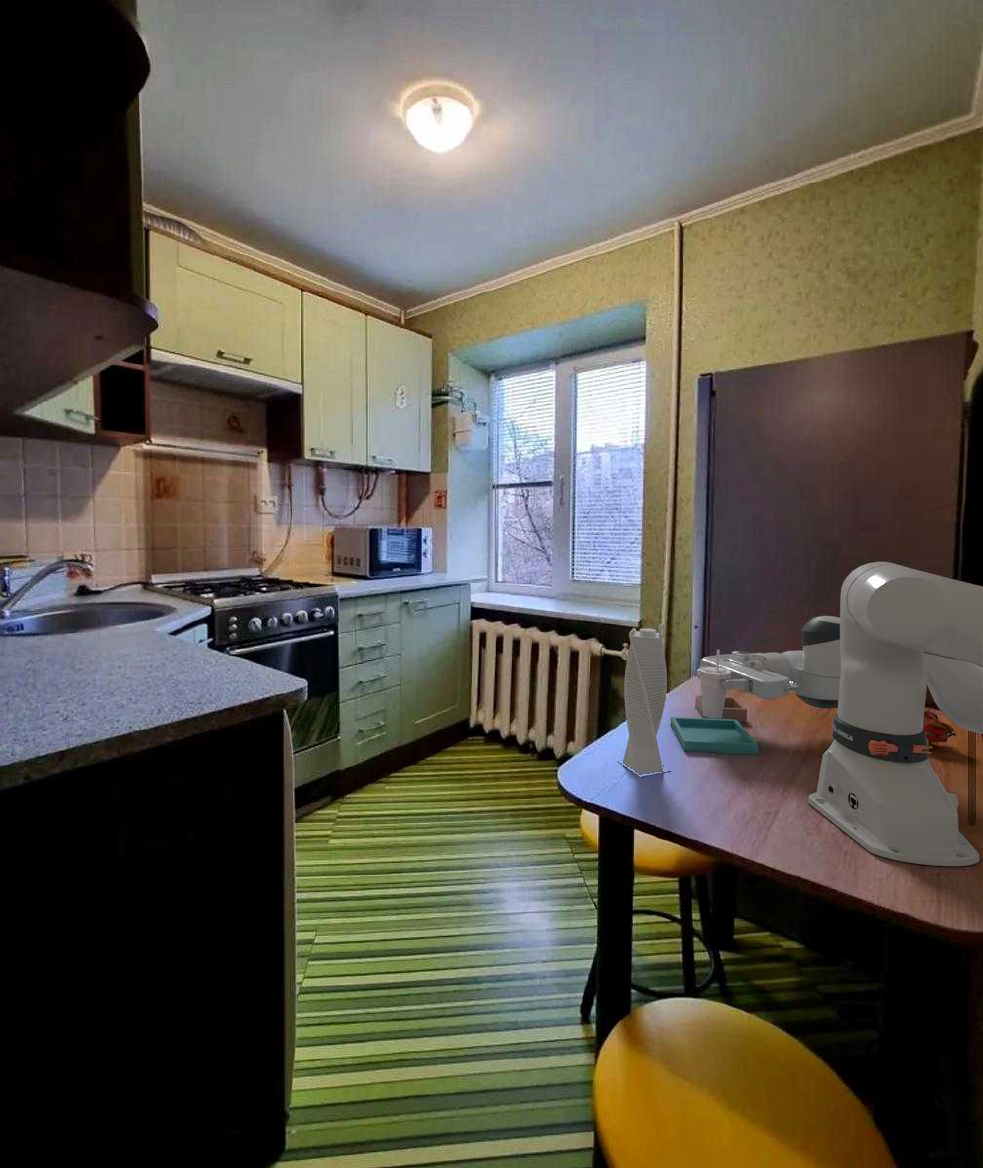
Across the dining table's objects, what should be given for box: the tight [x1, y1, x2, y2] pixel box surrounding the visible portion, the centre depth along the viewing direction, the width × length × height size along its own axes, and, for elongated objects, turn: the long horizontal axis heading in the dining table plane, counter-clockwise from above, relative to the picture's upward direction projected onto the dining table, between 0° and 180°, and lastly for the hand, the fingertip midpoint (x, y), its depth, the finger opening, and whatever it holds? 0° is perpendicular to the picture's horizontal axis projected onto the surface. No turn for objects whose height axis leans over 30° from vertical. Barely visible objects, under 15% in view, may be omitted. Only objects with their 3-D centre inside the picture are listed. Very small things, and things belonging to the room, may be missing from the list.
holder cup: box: [694, 695, 748, 723], centre depth 132 cm, size 9×9×3 cm
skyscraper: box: [622, 622, 668, 775], centre depth 102 cm, size 8×8×28 cm
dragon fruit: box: [923, 708, 957, 749], centre depth 115 cm, size 8×8×12 cm
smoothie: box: [698, 649, 731, 719], centre depth 116 cm, size 6×6×14 cm
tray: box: [670, 716, 759, 756], centre depth 117 cm, size 14×14×2 cm
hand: (710, 679), depth 116 cm, fingers closed on smoothie, 6 cm apart
